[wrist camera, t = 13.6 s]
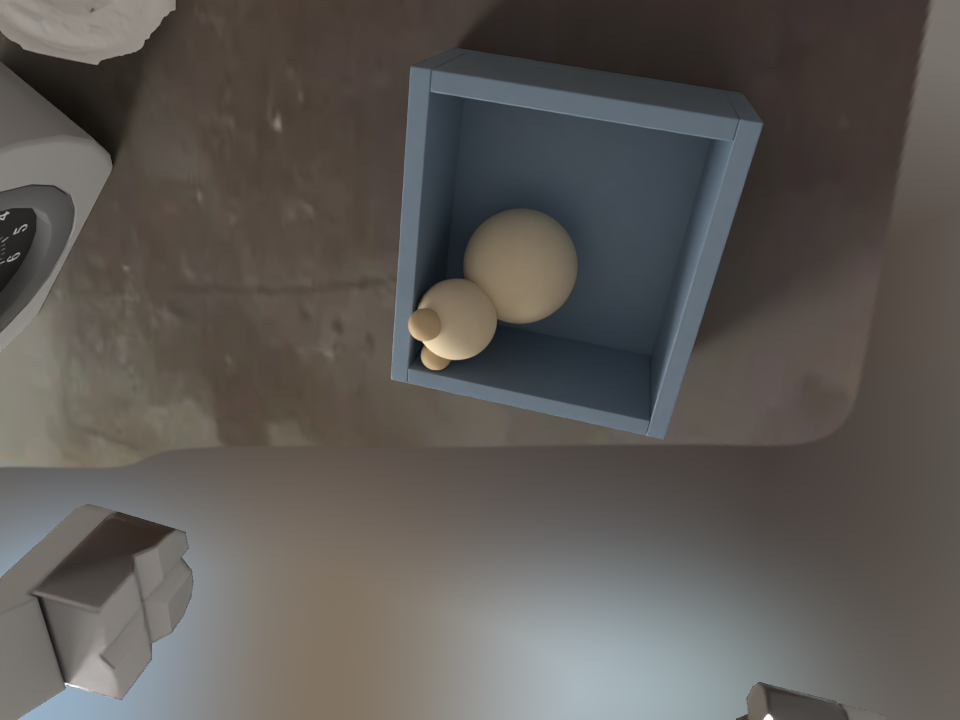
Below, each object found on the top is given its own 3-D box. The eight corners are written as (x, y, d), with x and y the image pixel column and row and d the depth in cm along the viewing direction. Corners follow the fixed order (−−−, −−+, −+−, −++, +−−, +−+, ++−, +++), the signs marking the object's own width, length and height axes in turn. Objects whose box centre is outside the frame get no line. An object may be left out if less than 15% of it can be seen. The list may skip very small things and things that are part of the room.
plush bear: (603, 226, 29) (446, 357, 27) (600, 296, 34) (466, 413, 32) (517, 165, 32) (367, 282, 30) (526, 238, 36) (396, 344, 34)
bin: (742, 92, 30) (763, 122, 24) (662, 366, 37) (664, 439, 31) (454, 47, 31) (410, 65, 26) (429, 318, 38) (390, 379, 33)
